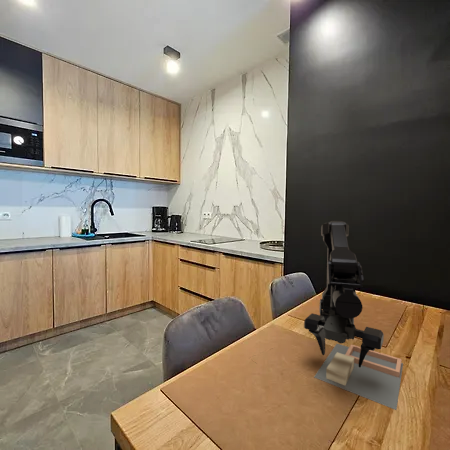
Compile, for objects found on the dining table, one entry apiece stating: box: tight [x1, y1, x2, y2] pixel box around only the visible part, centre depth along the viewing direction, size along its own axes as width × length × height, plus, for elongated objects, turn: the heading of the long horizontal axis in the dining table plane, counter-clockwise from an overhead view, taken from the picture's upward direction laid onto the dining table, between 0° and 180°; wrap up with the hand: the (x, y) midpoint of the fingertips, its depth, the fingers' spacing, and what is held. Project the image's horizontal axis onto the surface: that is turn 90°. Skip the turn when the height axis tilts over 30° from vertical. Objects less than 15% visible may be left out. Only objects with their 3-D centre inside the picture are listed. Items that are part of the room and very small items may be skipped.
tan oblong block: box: [326, 352, 354, 385], centre depth 69 cm, size 10×5×3 cm, turn 142°
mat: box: [313, 343, 404, 411], centre depth 70 cm, size 18×22×1 cm
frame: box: [345, 343, 402, 377], centre depth 74 cm, size 13×8×1 cm, turn 52°
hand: (340, 360), depth 69 cm, fingers open, 9 cm apart
